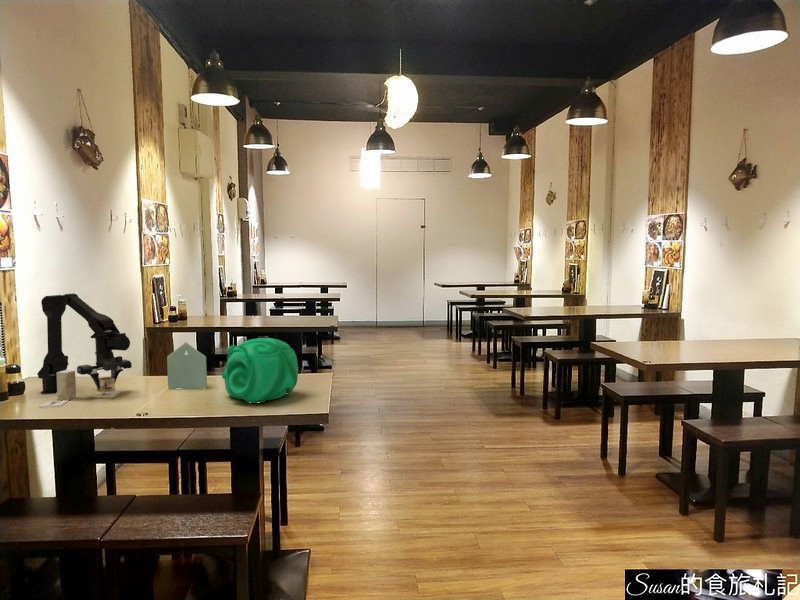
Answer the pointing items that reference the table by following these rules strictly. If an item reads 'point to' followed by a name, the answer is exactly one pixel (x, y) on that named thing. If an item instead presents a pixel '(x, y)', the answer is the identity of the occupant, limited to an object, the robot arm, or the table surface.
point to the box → (66, 385)
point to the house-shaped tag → (186, 368)
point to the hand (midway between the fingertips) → (105, 388)
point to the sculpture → (260, 370)
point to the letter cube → (106, 384)
